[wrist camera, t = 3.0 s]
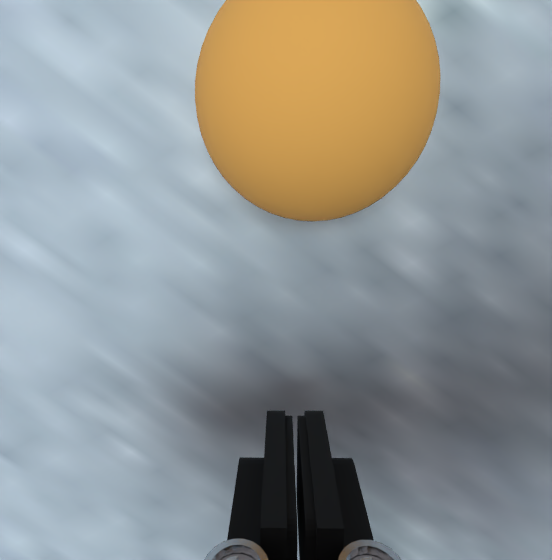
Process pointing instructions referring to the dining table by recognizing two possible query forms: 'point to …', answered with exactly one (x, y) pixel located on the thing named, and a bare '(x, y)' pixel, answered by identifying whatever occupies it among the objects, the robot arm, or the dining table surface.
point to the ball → (317, 100)
